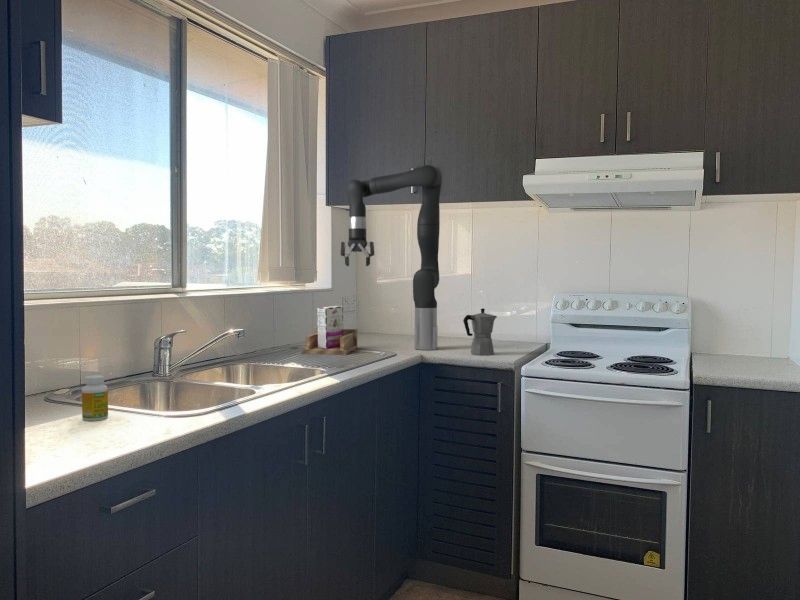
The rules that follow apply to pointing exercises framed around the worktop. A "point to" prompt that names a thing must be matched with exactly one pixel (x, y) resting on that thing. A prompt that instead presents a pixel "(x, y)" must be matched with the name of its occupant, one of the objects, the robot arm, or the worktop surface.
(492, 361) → the worktop surface
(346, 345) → the walnut rack
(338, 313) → the candy bar box
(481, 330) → the coffeepot
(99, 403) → the supplement bottle
